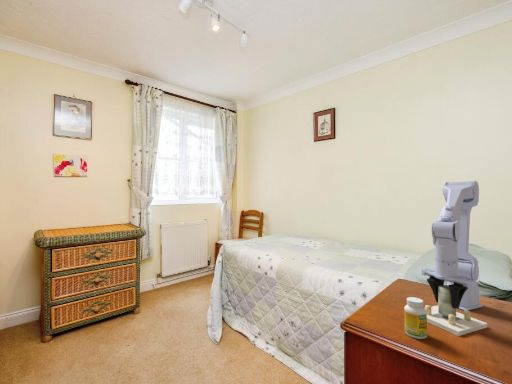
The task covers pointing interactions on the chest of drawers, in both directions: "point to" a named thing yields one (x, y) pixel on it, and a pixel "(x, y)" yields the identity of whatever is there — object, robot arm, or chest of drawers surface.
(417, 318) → the supplement bottle
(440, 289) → the peg
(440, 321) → the base plate
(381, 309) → the chest of drawers surface
